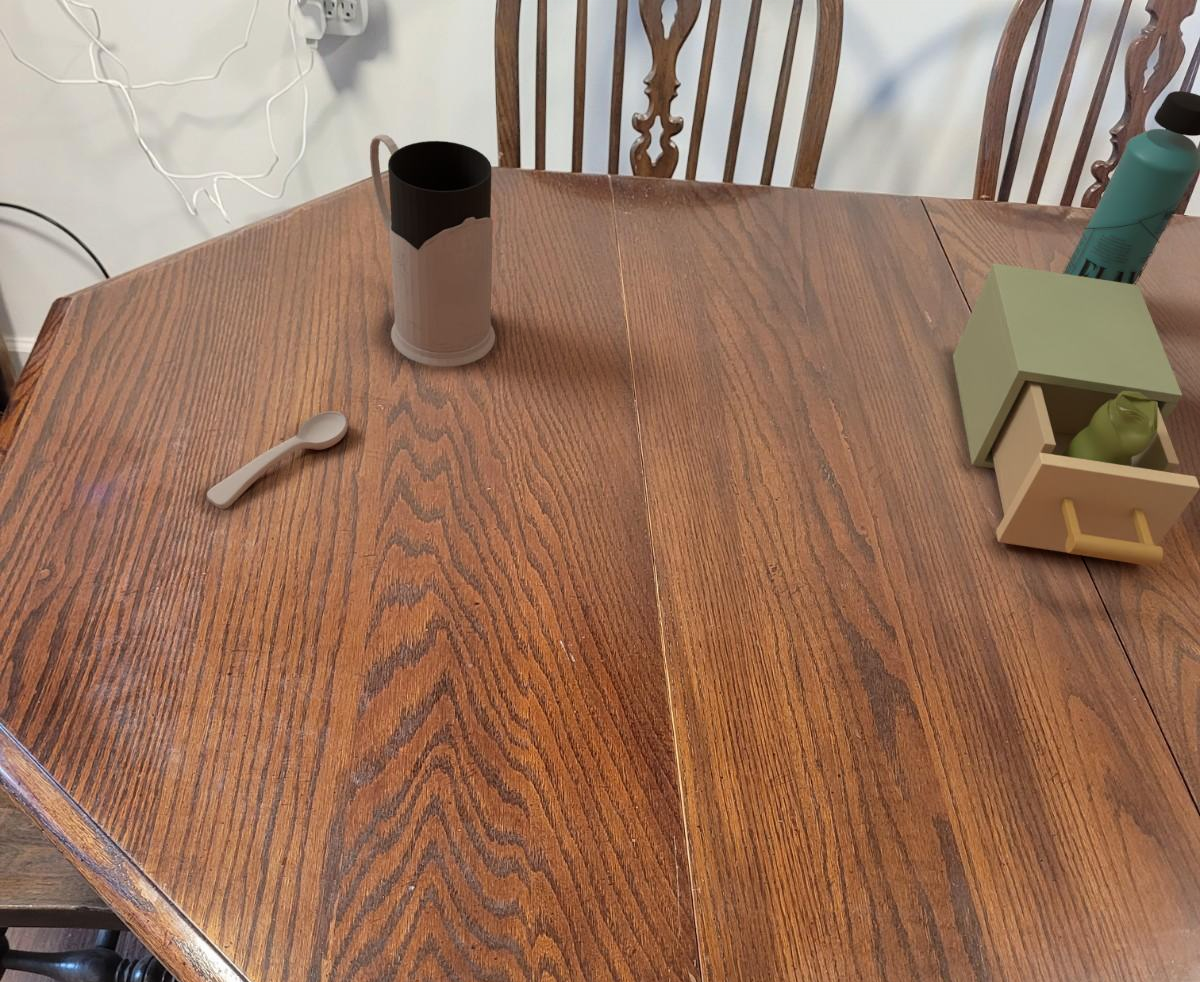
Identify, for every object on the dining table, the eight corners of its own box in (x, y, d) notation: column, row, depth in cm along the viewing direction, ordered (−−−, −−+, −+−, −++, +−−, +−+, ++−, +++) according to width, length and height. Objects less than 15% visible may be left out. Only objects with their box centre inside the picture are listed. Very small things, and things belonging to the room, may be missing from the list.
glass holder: (427, 382, 84) (421, 208, 72) (337, 294, 90) (319, 121, 79) (516, 348, 88) (524, 177, 76) (424, 265, 94) (418, 97, 83)
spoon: (359, 435, 78) (355, 416, 77) (230, 524, 73) (223, 505, 71) (332, 417, 80) (327, 397, 78) (203, 503, 74) (196, 483, 72)
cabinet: (1120, 490, 83) (1183, 395, 76) (970, 467, 83) (1019, 370, 76) (1085, 379, 93) (1138, 284, 86) (951, 358, 93) (993, 262, 86)
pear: (1045, 471, 81) (1105, 366, 73) (1114, 494, 80) (1182, 390, 72) (1036, 516, 77) (1098, 410, 70) (1108, 541, 76) (1179, 436, 69)
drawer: (1159, 615, 74) (1220, 539, 68) (1007, 591, 74) (1054, 513, 68) (1107, 445, 86) (1154, 367, 80) (975, 425, 86) (1013, 346, 80)
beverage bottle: (1045, 316, 99) (1150, 103, 84) (1052, 281, 103) (1153, 73, 88) (1114, 336, 98) (1233, 125, 83) (1118, 301, 102) (1233, 94, 87)
